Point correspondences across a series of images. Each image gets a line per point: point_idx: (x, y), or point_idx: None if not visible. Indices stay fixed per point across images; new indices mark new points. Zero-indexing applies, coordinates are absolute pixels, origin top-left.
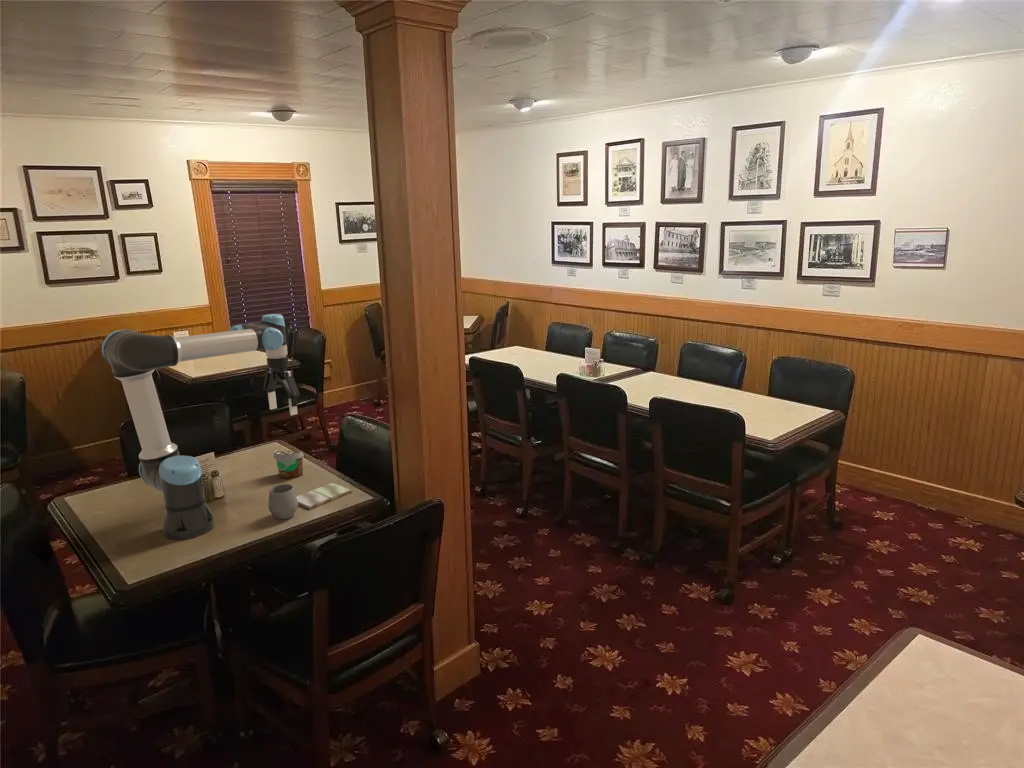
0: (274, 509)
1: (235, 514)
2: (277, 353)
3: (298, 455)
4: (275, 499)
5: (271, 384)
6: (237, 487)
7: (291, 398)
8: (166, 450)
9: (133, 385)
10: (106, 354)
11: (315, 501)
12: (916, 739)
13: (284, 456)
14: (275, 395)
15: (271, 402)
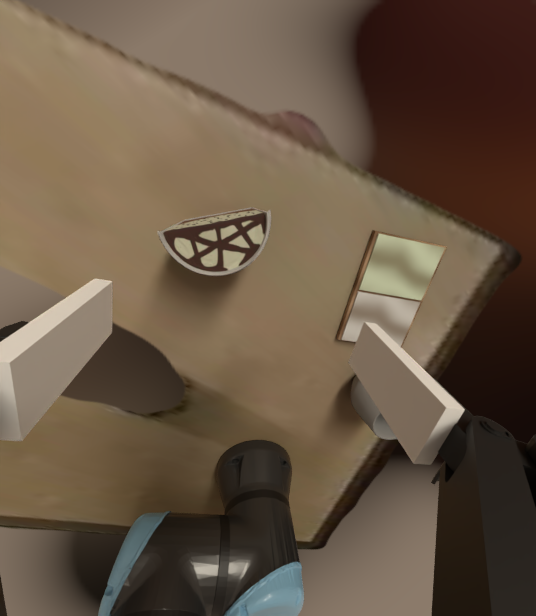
0: (379, 417)
1: (279, 411)
2: None
3: (268, 234)
4: (390, 429)
5: (4, 603)
6: (166, 337)
7: (442, 450)
8: None
9: None
10: None
11: (399, 327)
12: None
13: (237, 269)
14: (45, 334)
15: (86, 351)
